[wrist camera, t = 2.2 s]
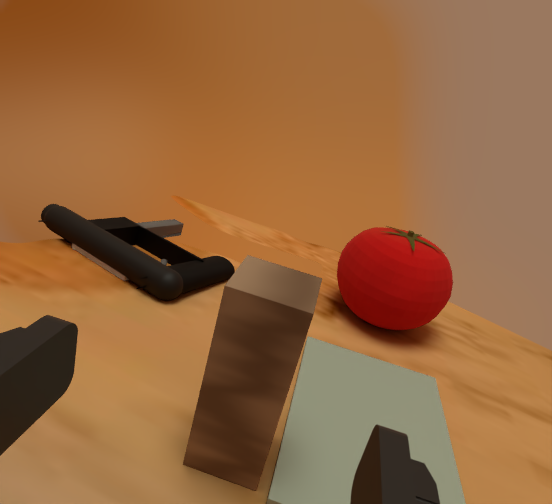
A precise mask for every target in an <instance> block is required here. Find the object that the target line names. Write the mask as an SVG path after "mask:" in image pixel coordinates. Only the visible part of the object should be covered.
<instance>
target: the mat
mask: <svg viewBox="0 0 552 504" xmlns="http://www.w3.org/2000/svg"><path fill="white" fill-rule="evenodd" d="M377 424H378V425H381V426H384V427H387V428H390V429H393V430H396V431H399V432H402V433H405V434H407V436H408V441H409V448H410V456H411V459H413V460H416V461H419V462H422V463H425V465H426V467H427V468H428V470H429V472H430V474H431V475H432V477H433V479H434V480H435V482H436V484H437V489H438V495H439V500H440V504H466V503H465V499H464V495H463V490H462V486H461V482H460V478H459V474H458V470H457V466H456V462H455V458H454V453H453V449H452V445H451V441H450V437H449V433H448V429H447V425H446V421H445V416H444V412H443V408H442V404H441V400H440V396H439V392H438V388H437V383H436V379H435V378H434V377H431V376H428V375H425V374H422V373H418V372H415V371H412V370H409V369H406V368H403V367H400V366H397V365H394V364H391V363H388V362H385V361H382V360H379V359H376V358H373V357H370V356H367V355H363V354H360V353H357V352H354V351H351V350H348V349H345V348H342V347H339V346H336V345H333V344H330V343H327V342H324V341H321V340H318V339H315V338H311V337H308V338H307V341H306V345H305V349H304V353H303V357H302V361H301V365H300V369H299V373H298V377H297V381H296V385H295V389H294V393H293V397H292V401H291V405H290V409H289V414H288V418H287V422H286V426H285V430H284V434H283V438H282V442H281V446H280V450H279V454H278V458H277V462H276V466H275V470H274V474H273V478H272V482H271V486H270V491H269V495H268V499H267V503H266V504H350V503H351V490H352V484H353V480H354V476H355V473H356V470H357V467H358V465H359V462H360V460H361V457H362V455H363V452H364V450H365V447H366V445H367V442H368V440H369V438H370V435H371V433H372V430H373V428H374V427H375V425H377Z"/></svg>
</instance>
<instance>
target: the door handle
mask: <svg viewBox="0 0 552 504" xmlns="http://www.w3.org/2000/svg"><path fill="white" fill-rule="evenodd" d="M41 219H42V220H41V221H39V222H44V223H45V224H46V226H47V227H48V228H49V229H50V230H51V231H53V232H54V233H56V234H58V235H59V236H61V237H62V238H64V239H66V240H67V241H69V242H70V243H72V248H73V250H76V251H78V252H79V253H81V254H82V255H84V256H86V257H87V258H89V259H90V260H92V261H93V262H95V263H96V264H98V265H100V266H101V267H103V268H104V269H106V270H107V271H109V272H111V273H112V274H114V275H115V276H117V277H118V278H120V279H122V280H123V281H126V280H131V281H132V282H134V283H135V284H137V285H139V286H140V287H139V288H143V289H145V290H147V291H148V292H150V293H151V294H153V295H154V296H156V297H158V298H159V299H162V300H172V299H175V298H176V297H178V296H179V295H180V294H181V293H184V292H188V291H191V290H194V289H197V288H201V287H204V286H207V285H211V284H214V283H217V282H220V281H224V280H227V279H230V278H231V277H232V275H233V274H234V273H235V270H234V267H233V265H232V263H231V262H230V261H229V260H227V259H226V258H223V257H221V256H212V257H207V258H203V259H201V258H199V257H197V256H195V255H194V254H192V253H190V252H188V251H186V250H184V249H182V248H181V247H179V246H177V245H175V244H173V243H171V242H170V241H168V240H166V239H164V238H166V237H173V236H179V235H181V232H182V228H183V223H181V222H179V221H177V220H175V219H174V220H163V221H153V222H142V223H135V222H133V221H131V220H129V219H127V218H125V217H119V218H107V219H95V220H86V219H85V218H83V217H81V216H79V215H78V214H76V213H74V212H73V211H71V210H69V209H67V208H66V207H62V206H59V205H56V204H50V205H48V206H47V207H46V208H44V210H43V211H42V214H41ZM131 245H138V246H139V247H141V248H143V249H144V250H146V251H148V252H150V253H151V254H153V255H155V256H157V257H158V258H160V259H162V260H161V262H159V261H157V260H156V259H154V258H152V257H150V256H149V255H147V254H145V253H143V252H142V251H140V250H138V249H137V248H135V247H133V246H131ZM167 263H169V264H171V266H166V264H167ZM139 288H137V289H139Z"/></svg>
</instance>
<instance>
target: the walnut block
mask: <svg viewBox="0 0 552 504" xmlns="http://www.w3.org/2000/svg"><path fill="white" fill-rule="evenodd" d="M321 281H322V278H319V277H316V276H313V275H310V274H307V273H303V272H300V271H297V270H294V269H290V268H287V267H284V266H281V265H278V264H274V263H271V262H268V261H265V260H262V259H259V258H255V257H252V256H249V255H247V257H246V258H245V259H244V261H243V262H242V263H241V265H240V266H239V267H238V269H237V270H236V271H235V273H234V274H233V275H232V277H231V278H230V279H229V281H228V282H227V283H226V285H225V287H224V291H223V296H222V300H221V304H220V308H219V313H218V317H217V321H216V326H215V330H214V334H213V338H212V343H211V347H210V351H209V355H208V360H207V364H206V368H205V373H204V377H203V381H202V385H201V390H200V394H199V398H198V402H197V407H196V411H195V415H194V420H193V424H192V428H191V432H190V437H189V441H188V445H187V449H186V454H185V458H184V462H183V465H186V466H189V467H192V468H194V469H197V470H200V471H203V472H205V473H208V474H211V475H214V476H216V477H219V478H222V479H225V480H227V481H230V482H233V483H236V484H238V485H241V486H244V487H247V488H249V489H252V490H255V491H256V489H257V486H258V483H259V480H260V477H261V474H262V471H263V468H264V464H265V461H266V458H267V455H268V452H269V449H270V446H271V443H272V440H273V437H274V434H275V431H276V428H277V425H278V421H279V418H280V415H281V412H282V409H283V406H284V403H285V400H286V397H287V394H288V391H289V388H290V385H291V381H292V378H293V375H294V372H295V369H296V366H297V363H298V360H299V357H300V354H301V351H302V348H303V345H304V342H305V338H306V335H307V332H308V329H309V326H310V323H311V320H312V317H313V314H314V310H315V306H316V302H317V298H318V293H319V289H320V285H321Z"/></svg>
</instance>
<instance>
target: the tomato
mask: <svg viewBox="0 0 552 504" xmlns="http://www.w3.org/2000/svg"><path fill="white" fill-rule="evenodd" d="M337 278H338V285H339V289H340V292H341V295H342V298H343V300H344V302H345V303H346V305H347V306H348V307H349V308H350V309H351V311H352V312H353V313H354V314H356V315H357V316H358V317H360V318H361V319H363V320H364V321H366V322H368V323H370V324H372V325H375V326H378V327H381V328H385V329H391V330H408V329H415V328H417V327H420V326H422V325H424V324H427V323H429V322H430V321H431V320H432V319H434V318H435V317H436V316H437V315H438V314H439V313H440V311H441V310H442V309H443V308H444V307H445V305H446V304H447V302H448V300H449V298H450V296H451V291H452V285H453V280H452V271H451V267H450V264H449V261H448V259H447V257H446V256H445V255H444V253H443V252H442V251H441V249H439V248H438V247H437V246H436V245H435V244H433V243H432V242H430V241H428V240H426V239H425V238H423V237H420V235H418V234H414V232H413V231H409V232H408V231H405V230H399V229H395V228H391V227H390V228H371V229H368V230H365V231H363V232H361V233H360V234H358V235H357V236H355V237H354V238H353V239H352V240H351V241H350V242H348V243H347V245H346V247H345V248H344V249H343V251H342V253H341V256H340V259H339V262H338V269H337Z"/></svg>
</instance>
